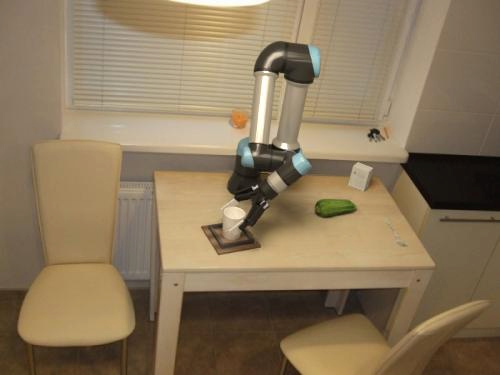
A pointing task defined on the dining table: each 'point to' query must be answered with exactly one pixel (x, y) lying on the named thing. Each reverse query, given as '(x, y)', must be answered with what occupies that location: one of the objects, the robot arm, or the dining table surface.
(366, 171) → the small box
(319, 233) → the dining table surface
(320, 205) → the vegetable
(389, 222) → the fork
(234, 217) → the white cup
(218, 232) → the dock board
